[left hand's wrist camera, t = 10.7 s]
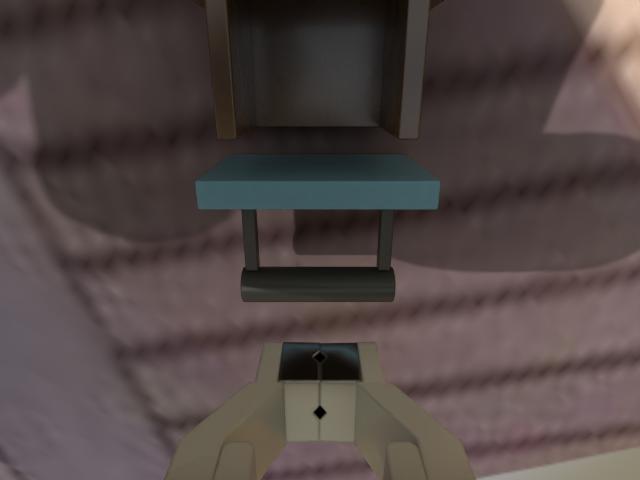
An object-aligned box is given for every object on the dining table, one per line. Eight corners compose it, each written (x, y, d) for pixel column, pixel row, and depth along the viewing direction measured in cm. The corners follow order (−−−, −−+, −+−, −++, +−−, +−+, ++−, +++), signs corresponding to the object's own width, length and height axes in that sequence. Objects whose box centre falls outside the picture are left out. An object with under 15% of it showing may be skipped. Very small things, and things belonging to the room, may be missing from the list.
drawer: (398, 262, 24) (425, 323, 18) (238, 262, 24) (210, 322, 18) (446, -364, 15) (538, -685, 9) (188, -364, 15) (94, -687, 9)
